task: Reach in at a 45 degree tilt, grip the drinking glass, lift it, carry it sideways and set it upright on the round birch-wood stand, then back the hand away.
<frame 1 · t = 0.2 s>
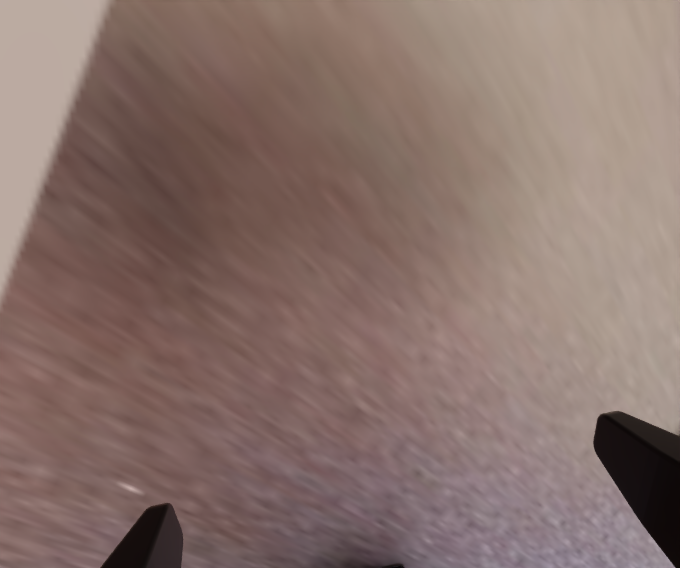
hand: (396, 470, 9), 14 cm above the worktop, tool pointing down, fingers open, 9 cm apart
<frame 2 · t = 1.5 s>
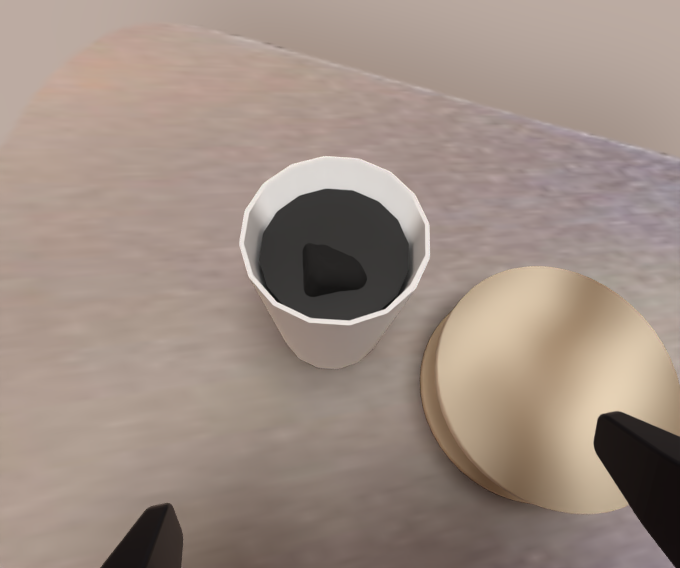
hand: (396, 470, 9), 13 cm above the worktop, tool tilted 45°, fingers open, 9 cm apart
birch stand: (521, 389, 23), on the worktop
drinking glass: (331, 319, 24), on the worktop
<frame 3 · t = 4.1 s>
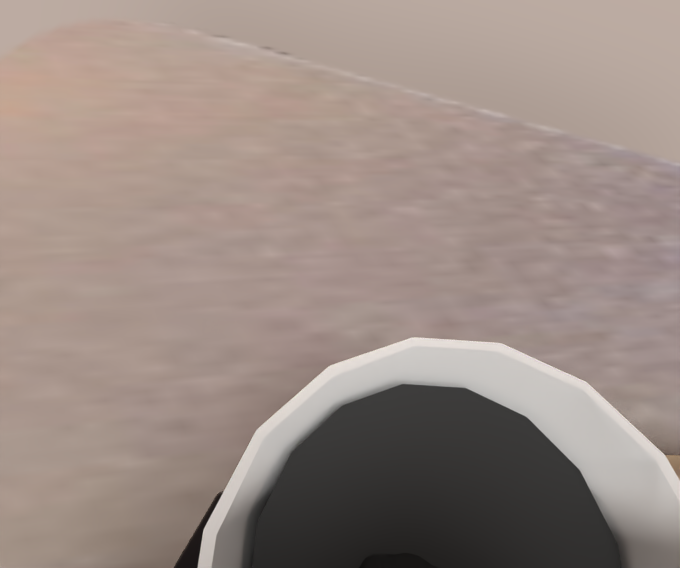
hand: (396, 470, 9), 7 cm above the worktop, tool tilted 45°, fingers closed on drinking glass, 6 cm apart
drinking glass: (374, 507, 14), on the worktop, touching gripper
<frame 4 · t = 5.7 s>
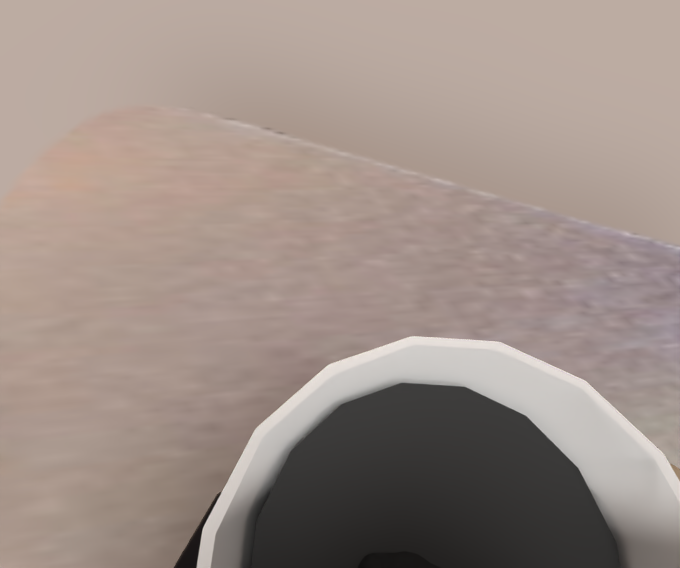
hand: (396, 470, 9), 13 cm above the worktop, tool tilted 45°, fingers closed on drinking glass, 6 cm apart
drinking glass: (374, 506, 14), point 6 cm above the worktop, touching gripper
when the fingers open (12 cm above the worktop, at t = 7.4 s): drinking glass drops 1 cm, resting on birch stand.
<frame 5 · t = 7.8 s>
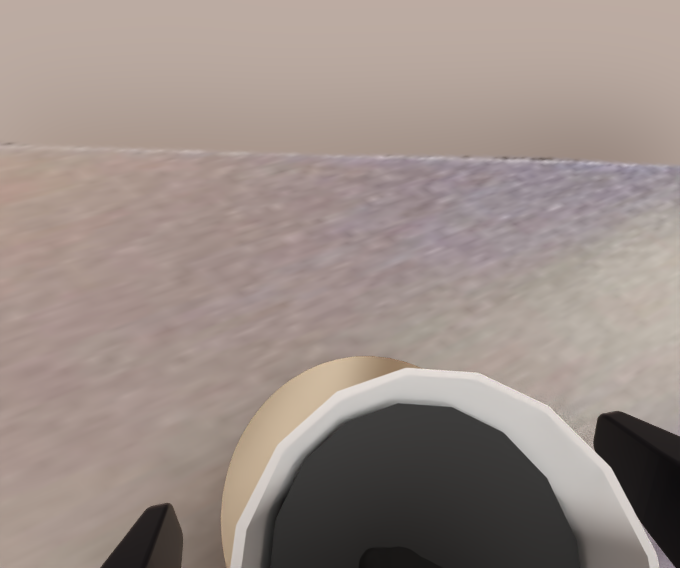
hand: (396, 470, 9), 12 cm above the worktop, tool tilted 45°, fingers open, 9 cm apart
birch stand: (361, 493, 19), on the worktop
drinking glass: (374, 507, 16), point 4 cm above the worktop, touching birch stand
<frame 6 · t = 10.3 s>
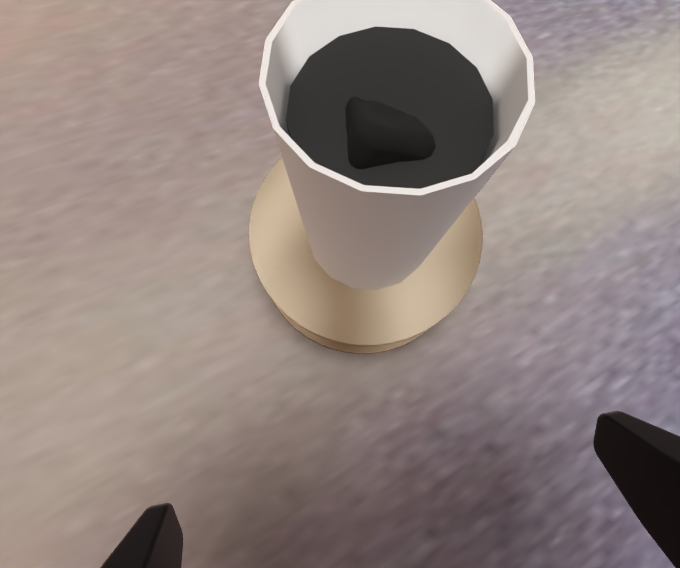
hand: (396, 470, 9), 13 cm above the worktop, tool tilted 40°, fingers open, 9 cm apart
birch stand: (361, 255, 24), on the worktop
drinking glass: (368, 232, 20), point 4 cm above the worktop, touching birch stand
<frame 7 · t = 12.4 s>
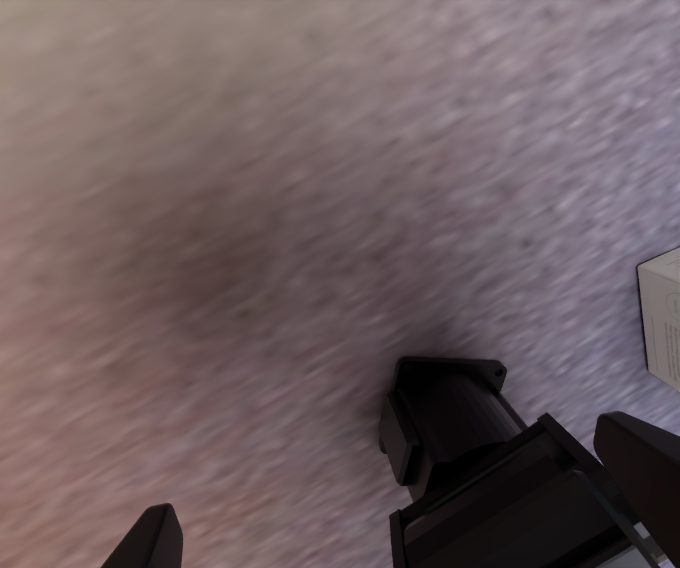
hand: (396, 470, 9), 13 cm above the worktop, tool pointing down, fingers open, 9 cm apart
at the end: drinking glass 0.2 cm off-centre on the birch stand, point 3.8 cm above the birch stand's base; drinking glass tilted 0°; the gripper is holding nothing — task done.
